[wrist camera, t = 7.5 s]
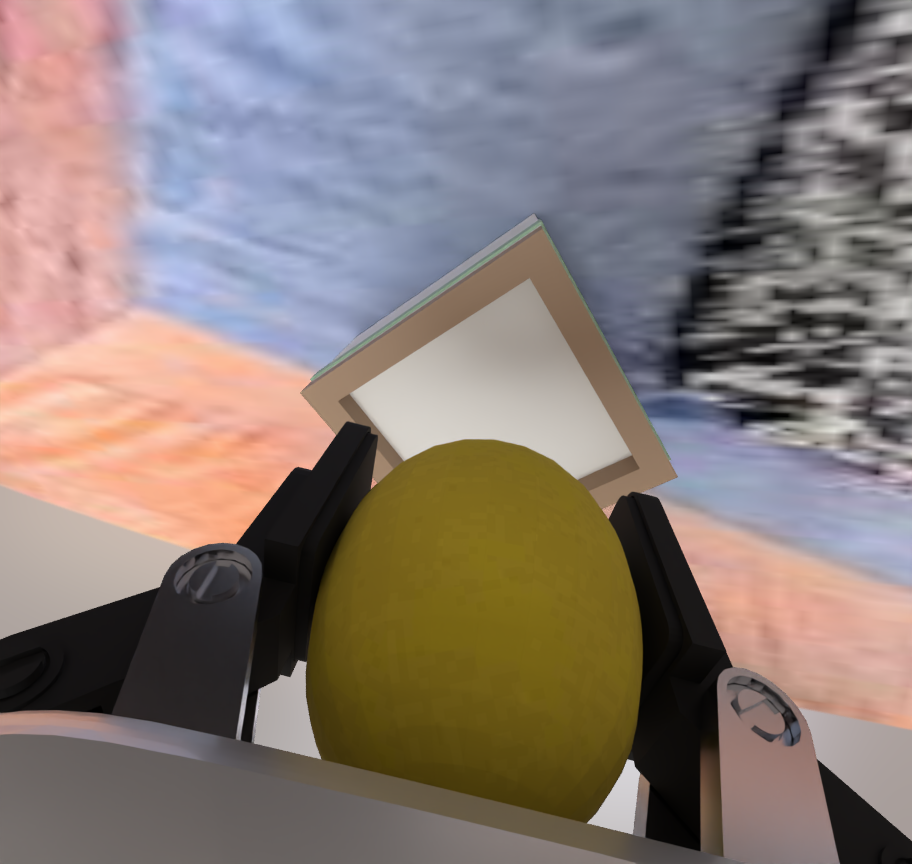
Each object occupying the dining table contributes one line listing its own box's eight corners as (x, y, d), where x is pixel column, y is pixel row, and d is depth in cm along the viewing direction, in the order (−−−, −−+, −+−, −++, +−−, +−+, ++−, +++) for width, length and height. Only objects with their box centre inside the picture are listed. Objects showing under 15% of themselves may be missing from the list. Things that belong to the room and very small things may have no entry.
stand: (637, 399, 27) (681, 477, 20) (466, 484, 32) (452, 573, 25) (534, 210, 23) (543, 224, 16) (353, 336, 28) (296, 391, 20)
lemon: (565, 347, 10) (674, 729, 3) (620, 537, 12) (753, 1002, 5) (345, 417, 12) (86, 781, 5) (431, 575, 14) (343, 978, 7)
